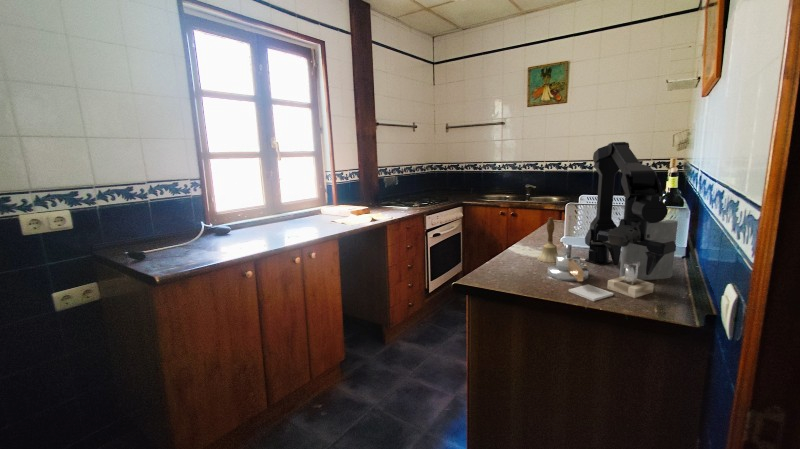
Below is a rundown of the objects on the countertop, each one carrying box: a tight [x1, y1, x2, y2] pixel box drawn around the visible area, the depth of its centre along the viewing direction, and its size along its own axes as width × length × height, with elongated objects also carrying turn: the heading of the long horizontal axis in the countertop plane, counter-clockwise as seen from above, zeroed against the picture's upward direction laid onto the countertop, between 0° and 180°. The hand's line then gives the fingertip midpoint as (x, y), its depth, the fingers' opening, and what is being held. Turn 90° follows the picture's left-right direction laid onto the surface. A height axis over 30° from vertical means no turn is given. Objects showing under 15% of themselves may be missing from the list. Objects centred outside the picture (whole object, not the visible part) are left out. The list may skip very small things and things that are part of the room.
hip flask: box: [619, 219, 679, 281], centre depth 111 cm, size 16×4×20 cm, turn 92°
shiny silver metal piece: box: [624, 261, 640, 286], centre depth 103 cm, size 5×3×8 cm, turn 115°
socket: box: [606, 276, 655, 299], centre depth 104 cm, size 8×8×2 cm
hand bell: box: [537, 217, 559, 264], centre depth 134 cm, size 8×8×16 cm
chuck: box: [555, 243, 584, 282], centre depth 112 cm, size 18×7×8 cm, turn 169°
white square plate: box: [568, 283, 614, 302], centre depth 103 cm, size 8×8×1 cm
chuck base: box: [547, 263, 589, 282], centre depth 118 cm, size 12×12×2 cm
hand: (631, 270), depth 103 cm, fingers open, 9 cm apart
